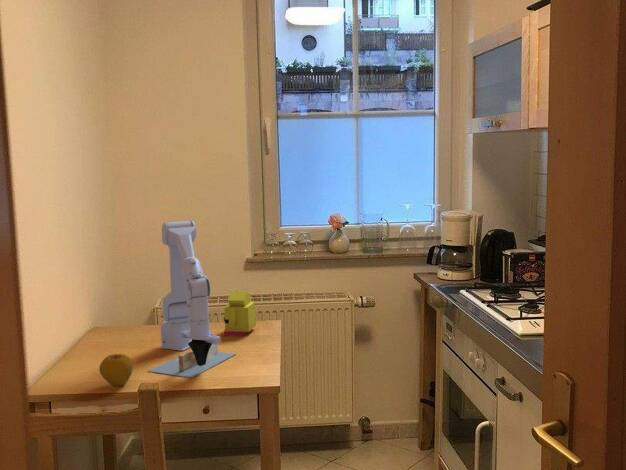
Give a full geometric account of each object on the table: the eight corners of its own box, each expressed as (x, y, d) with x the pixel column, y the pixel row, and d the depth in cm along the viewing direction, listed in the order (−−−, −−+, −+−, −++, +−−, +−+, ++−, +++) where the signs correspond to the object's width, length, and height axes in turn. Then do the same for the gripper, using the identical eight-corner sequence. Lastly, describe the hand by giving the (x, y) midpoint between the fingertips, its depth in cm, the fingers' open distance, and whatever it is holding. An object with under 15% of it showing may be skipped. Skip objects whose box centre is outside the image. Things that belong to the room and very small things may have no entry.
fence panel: (196, 362, 197) (195, 348, 196) (199, 363, 196) (198, 348, 195) (178, 371, 189) (177, 356, 188) (181, 372, 189) (180, 356, 188)
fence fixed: (196, 363, 197) (195, 347, 196) (215, 353, 206) (214, 338, 205) (200, 364, 196) (199, 348, 196) (219, 354, 205) (218, 339, 205)
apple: (93, 389, 178) (91, 357, 177) (114, 378, 186) (112, 348, 185) (120, 392, 175) (118, 360, 174) (140, 381, 183) (138, 350, 182)
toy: (231, 326, 238) (229, 286, 236) (258, 327, 236) (256, 287, 234) (219, 337, 225) (217, 294, 223) (247, 337, 223) (245, 295, 221)
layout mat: (147, 371, 191) (147, 370, 191) (194, 349, 211) (194, 348, 211) (191, 378, 184) (191, 377, 184) (235, 354, 204) (235, 353, 204)
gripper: (227, 319, 185) (229, 365, 187) (191, 313, 194) (194, 357, 196) (209, 324, 180) (212, 372, 181) (174, 318, 188) (176, 363, 190)
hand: (201, 364), depth 188 cm, fingers closed
